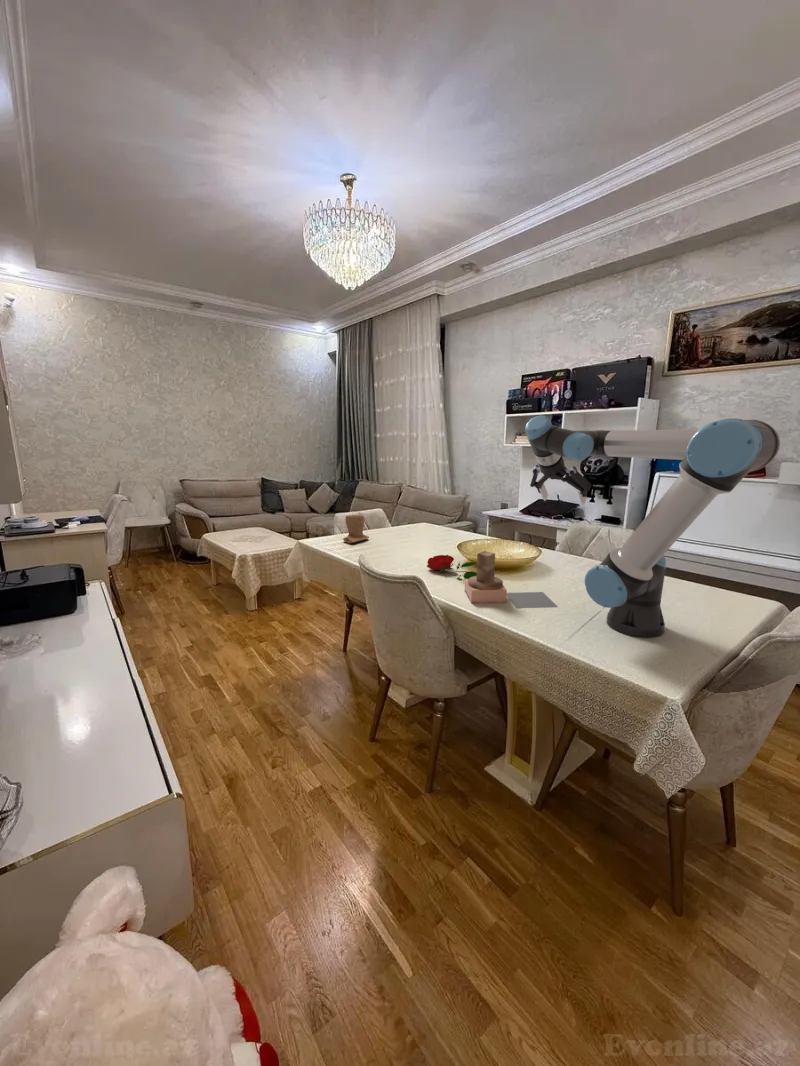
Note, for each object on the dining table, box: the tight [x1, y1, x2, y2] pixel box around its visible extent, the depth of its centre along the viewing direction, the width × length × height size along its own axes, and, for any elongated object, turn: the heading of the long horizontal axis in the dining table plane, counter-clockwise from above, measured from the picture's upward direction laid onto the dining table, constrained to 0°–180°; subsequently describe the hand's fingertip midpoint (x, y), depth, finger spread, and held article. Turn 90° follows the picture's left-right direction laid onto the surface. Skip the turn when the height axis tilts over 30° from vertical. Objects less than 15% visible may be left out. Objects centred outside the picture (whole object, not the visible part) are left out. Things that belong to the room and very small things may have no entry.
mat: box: [506, 591, 559, 609], centre depth 149 cm, size 14×14×1 cm
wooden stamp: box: [342, 513, 370, 544], centre depth 234 cm, size 15×12×15 cm
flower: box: [426, 554, 477, 581], centre depth 174 cm, size 9×9×30 cm
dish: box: [464, 578, 508, 604], centre depth 152 cm, size 12×12×5 cm
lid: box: [468, 550, 504, 590], centre depth 150 cm, size 12×12×11 cm
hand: (564, 499), depth 151 cm, fingers open, 13 cm apart
